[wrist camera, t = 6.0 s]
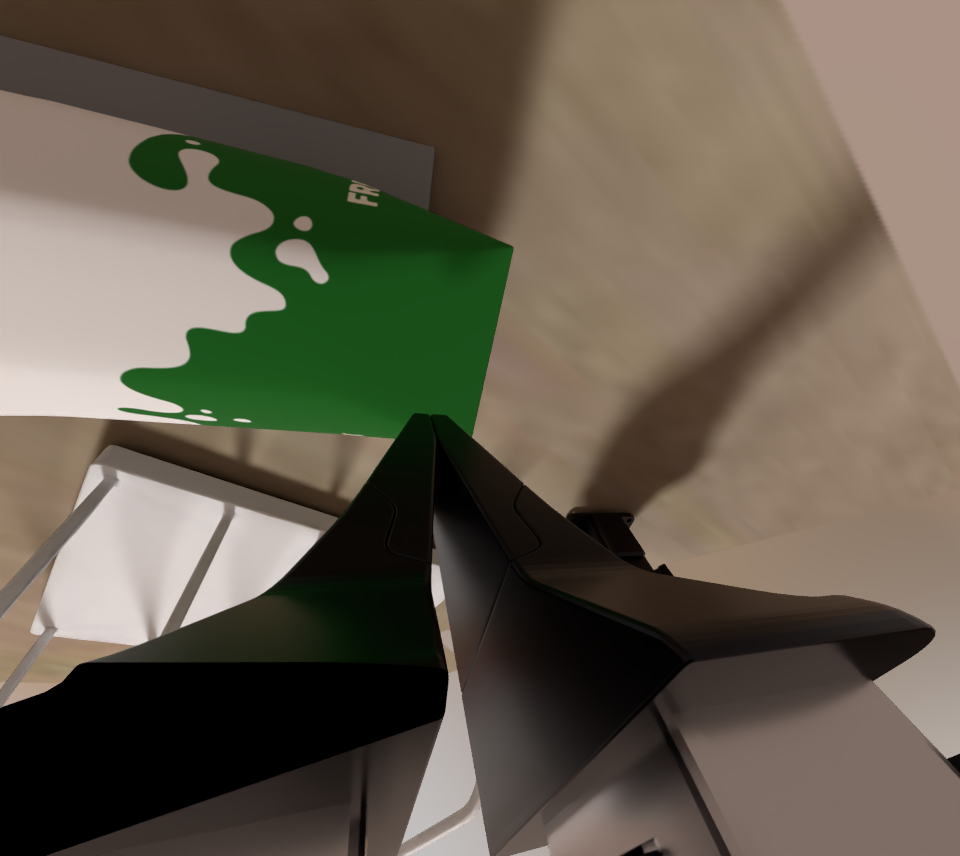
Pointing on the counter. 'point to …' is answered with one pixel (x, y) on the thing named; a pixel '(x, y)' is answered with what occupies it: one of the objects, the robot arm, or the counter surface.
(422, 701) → the robot arm
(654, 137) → the counter surface
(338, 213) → the soya milk
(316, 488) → the counter surface
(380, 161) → the mat
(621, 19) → the counter surface
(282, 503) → the file sorter
